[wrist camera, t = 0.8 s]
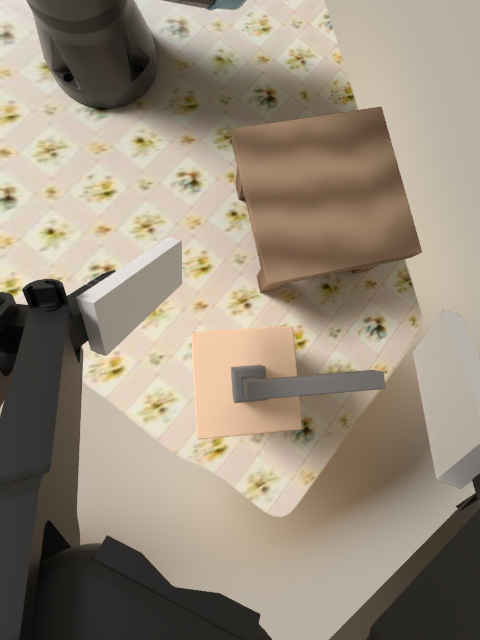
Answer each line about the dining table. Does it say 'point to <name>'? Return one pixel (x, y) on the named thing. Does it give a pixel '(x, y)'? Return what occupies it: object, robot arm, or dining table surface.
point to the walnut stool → (323, 196)
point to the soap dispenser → (258, 382)
